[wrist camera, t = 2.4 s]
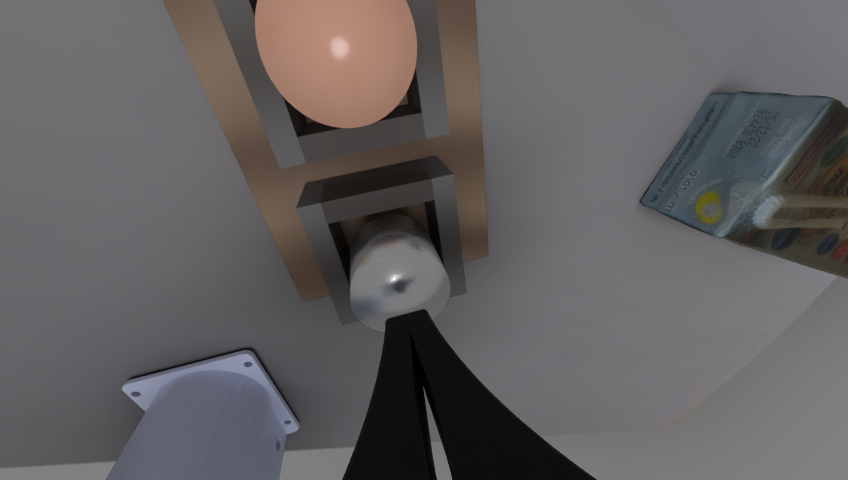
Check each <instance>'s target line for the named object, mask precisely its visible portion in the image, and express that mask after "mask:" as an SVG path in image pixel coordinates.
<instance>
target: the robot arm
mask: <svg viewBox="0 0 848 480" xmlns="http://www.w3.org/2000/svg"><path fill="white" fill-rule="evenodd" d="M423 386H424V389H425V392H426V395H427V399H428V402H429V405H430V408H431V411H432V414H433V417H434V420H435V423H436V426H437V429H438V432H439V435H440V438H441V441H442V444H443V447H444V450H445V454H446V457H447V461H448V464H449V467H450V471H451V476H452V480H596V479H595V478H594V477H592V476H591V475H589V474H588V473H587V472H585V471H584V470H583V469H581V468H580V467H578V466H577V465H576V464H574V463H573V462H572V461H570V460H569V459H568V458H566V457H565V456H564V455H562V454H561V453H560V452H559V451H557V450H556V449H555V448H553V447H552V446H551V445H550V444H549V443H547V442H546V441H545V440H544V439H543V438H541V437H540V436H539V435H538V434H537V433H535V432H534V431H533V430H532V429H531V428H529V427H528V426H527V425H526V424H525V423H523V422H522V421H521V420H520V419H519V418H518V417H516V416H515V415H514V414H513V413H512V412H511V411H510V410H509V409H508V408H507V407H505V406H504V405H503V404H502V403H501V402H500V401H499V400H498V399H497V398H496V397H495V396H494V395H493V394H492V393H491V392H490V391H489V390H488V389H487V388H486V387H485V386H484V385H483V384H482V383H481V382H480V381H479V380H478V379H477V378H476V376H475V375H474V374H473V373H472V372H471V371H470V370H469V369H468V368H467V366H466V365H465V364H464V363H463V362H462V361H461V359H460V358H459V357H458V356H457V354H456V353H455V352H454V351H453V349H452V348H451V347H450V346H449V344H448V343H447V342H446V340H445V339H444V338H443V336H442V335H441V333H440V332H439V330H438V329H437V327H436V326H435V324H434V323H433V321H432V319H431V317H430V315H429V313H428V311H427V310H425V309H422V310H418V311H414V312H410V313H406V314H402V315H399V316H395V317H391V318H388V319H387V320H386V321H385V337H384V345H383V351H382V356H381V361H380V366H379V370H378V375H377V379H376V383H375V387H374V390H373V394H372V398H371V401H370V405H369V408H368V411H367V415H366V418H365V421H364V424H363V427H362V430H361V433H360V435H359V438H358V441H357V444H356V446H355V449H354V452H353V454H352V457H351V459H350V462H349V464H348V467H347V469H346V472H345V474H344V477H343V479H342V480H437V477H436V473H435V467H434V461H433V456H432V448H431V441H430V433H429V426H428V419H427V411H426V404H425V397H424V390H423ZM122 390H123V391H124V392H125V393H126V394H127V395H128V396H129V397H130V398H131V399H132V400H133V401H134V402H135V403H136V404H138V405H139V406H140V407H141V408H142V409H143V410H144V411H145V414H144V415H143V417H142V419H141V421H140V422H139V424H138V426H137V427H136V429H135V431H134V432H133V434H132V436H131V438H130V439H129V441H128V443H127V444H126V446H125V448H124V449H123V451H122V453H121V454H120V456H119V458H118V460H117V461H116V463H115V465H114V466H113V468H112V470H111V472H110V473H109V475H108V477H107V478H106V480H279V477H280V471H281V465H282V459H283V453H284V448H285V442H286V436H287V434H290V433H293V432H296V431H297V430H298V429H299V422H298V421H297V419H296V418H295V416H294V415H293V413H292V411H291V410H290V408H289V407H288V405H287V404H286V402H285V401H284V399H283V398H282V396H281V394H280V393H279V391H278V390H277V388H276V387H275V385H274V384H273V382H272V381H271V379H270V377H269V376H268V374H267V373H266V371H265V370H264V368H263V367H262V365H261V363H260V362H259V360H258V359H257V357H256V356H255V354H254V353H253V352H252V351H250V350H243V351H239V352H235V353H231V354H227V355H223V356H220V357H216V358H212V359H208V360H204V361H200V362H197V363H193V364H189V365H185V366H181V367H177V368H173V369H170V370H166V371H162V372H158V373H154V374H150V375H147V376H143V377H139V378H135V379H131V380H128V381H126V382H125V384H124V385H123V387H122Z"/></svg>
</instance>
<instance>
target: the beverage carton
mask: <svg viewBox="0 0 848 480" xmlns="http://www.w3.org/2000/svg"><path fill="white" fill-rule="evenodd" d="M641 203H642V204H643V205H644V206H646V207H649V208H652V209H654V210H656V211H658V212H660V213H662V214H664V215H666V216H668V217H670V218H672V219H674V220H676V221H679V222H681V223H683V224H685V225H687V226H690V227H692V228H694V229H697V230H699V231H701V232H704V233H707V234H710V235H712V236H715V237H719V238H724V239H727V240H729V241H732V242H734V243H736V244H738V245H741V246H745V247H749V248H752V249H755V250H758V251H761V252H764V253H768V254H771V255H775V256H778V257H781V258H784V259H786V260H789V261H792V262H796V263H799V264H802V265H805V266H808V267H811V268H814V269H818V270H821V271H824V272H827V273H831V274H834V275H837V276H841V277H844V278H848V107H845V106H844V105H843V103H842V102H841V101H839V100H836V99H834V98H830V97H826V96H795V95H788V94H781V93H758V92H744V91H741V92H736V93H718V94H710V95H709V96H708V97H707V98H706V100H705V101H704V103H703V105H702V107H701V108H700V110H699V112H698V113H697V115H696V116H695V118H694V119H693V121H692V122H691V124H690V126H689V127H688V129H687V130H686V132H685V133H684V135H683V137H682V138H681V140H680V141H679V143H678V144H677V145H676V147H675V149H674V150H673V152H672V153H671V155H670V156H669V158H668V159H667V161H666V162H665V164H664V165H663V167H662V168H661V170H660V171H659V173H658V175H657V176H656V178H655V179H654V181H653V182H652V184H651V185H650V187H649V188H648V190H647V192H646V193H645V195H644V196H643V198H642V200H641Z"/></svg>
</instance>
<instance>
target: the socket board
mask: <svg viewBox="0 0 848 480" xmlns="http://www.w3.org/2000/svg"><path fill="white" fill-rule="evenodd" d="M406 1H407V4H408V6H409V8H410V11H411V14H412V17H413V21H414V25H415V30H416V37H417V60H416V67H415V71H414V75H413V79H412V81H411V84H410V86H409V88H408V90H407V92H406V94H405V96H404V97H403V99H402V100H401V101H400V103H399V104H398V105H397V106H396V107H395V108H394V109H393V111H391V112H390V113H389V114H388V115H386V116H385V117H384V118H382V119H380V120H379V121H377V122H374V123H372V124H370V125H366V126H362V127H356V128H338V127H332V126H328V125H325V124H322V123H319V122H317V121H315V120H313V119H311V118H309V117H307V116H305V115H304V114H302V113H301V112H300V111H298V110H297V109H296V108H294V107H293V106H292V105H291V104H290V103H289V102H288V101H287V100H286V99H285V98H284V97H283V96H282V94H281V93H280V92H279V91H278V89H277V88H276V87H275V85H274V84H273V82H272V81H271V79H270V77H269V75H268V73H267V72H266V69H265V67H264V65H263V62H262V60H261V56H260V53H259V50H258V46H257V40H256V33H255V11H256V5H257V0H163V2H164V4H165V6H166V9H167V11H168V13H169V15H170V17H171V19H172V21H173V24H174V26H175V28H176V30H177V32H178V34H179V37H180V39H181V41H182V43H183V45H184V47H185V49H186V52H187V54H188V56H189V58H190V60H191V62H192V64H193V67H194V69H195V71H196V73H197V75H198V77H199V80H200V82H201V84H202V86H203V88H204V90H205V92H206V95H207V97H208V99H209V101H210V103H211V105H212V107H213V110H214V112H215V114H216V116H217V118H218V120H219V122H220V125H221V127H222V129H223V131H224V133H225V135H226V138H227V140H228V142H229V144H230V146H231V148H232V150H233V153H234V155H235V157H236V159H237V161H238V163H239V165H240V168H241V170H242V172H243V174H244V176H245V178H246V181H247V183H248V185H249V187H250V189H251V191H252V193H253V196H254V198H255V200H256V202H257V204H258V206H259V208H260V211H261V213H262V215H263V217H264V219H265V221H266V224H267V226H268V228H269V230H270V232H271V234H272V236H273V239H274V241H275V243H276V245H277V247H278V249H279V251H280V254H281V256H282V258H283V260H284V262H285V264H286V267H287V269H288V271H289V273H290V275H291V277H292V279H293V282H294V284H295V286H296V288H297V290H298V292H299V294H300V297H301V299H302V301H303V302H304V301H308V300H312V299H316V298H320V297H324V296H328V295H331V298H332V300H333V303H334V305H335V308H336V310H337V313H338V315H339V318H340V320H341V323H342V325H345V324H348V323H352V322H356V321H359V319H358V318H357V317H356V316H355V314H354V312H353V310H352V307H351V303H350V246H351V242H352V240H353V237H354V236H355V234H356V232H357V231H358V230H359V229H360V228H361V227H362V226H363V225H364V224H365V223H366V222H368V221H370V220H371V219H373V218H376V217H378V216H382V215H387V214H400V215H405V216H408V217H411V218H413V219H415V220H416V221H418V222H419V223H420V224H421V225H423V227H424V228H425V229H426V231H427V232H428V234H429V236H430V238H431V241H432V243H433V245H434V247H435V249H436V251H437V253H438V256H439V258H440V260H441V262H442V264H443V266H444V268H445V270H446V273H447V275H448V277H449V281H450V296H449V297H452V296H456V295H460V294H464V293H466V286H465V277H464V267H463V262H464V261H468V260H472V259H476V258H480V257H484V256H488V237H487V218H486V198H485V179H484V160H483V141H482V121H481V102H480V83H479V64H478V44H477V25H476V6H475V0H406Z"/></svg>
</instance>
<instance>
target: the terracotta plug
mask: <svg viewBox="0 0 848 480" xmlns="http://www.w3.org/2000/svg"><path fill="white" fill-rule="evenodd" d="M255 33H256V40H257V46H258V50H259V53H260V56H261V60H262V62H263V65H264V67H265V69H266V72H267V73H268V75H269V77H270V79H271V81H272V82H273V84H274V85H275V87H276V88H277V89H278V91H279V92H280V93H281V94H282V96H283V97H284V98H285V99H286V100H287V101H288V102H289V103H290V104H291V105H292V106H293V107H294V108H296V109H297V110H298V111H300V112H301V113H302V114H304V115H305V116H307V117H309V118H311V119H313V120H315V121H317V122H319V123H322V124H325V125H328V126H332V127H338V128H356V127H362V126H366V125H370V124H372V123H374V122H377V121H379V120H380V119H382V118H384V117H385V116H386V115H388V114H389V113H390V112H391V111H393V109H394V108H395V107H396V106H397V105H398V104H399V103H400V101H401V100H402V99H403V97H404V96H405V94H406V92H407V90H408V88H409V86H410V84H411V81H412V79H413V75H414V71H415V67H416V60H417V37H416V30H415V25H414V21H413V17H412V14H411V11H410V8H409V6H408V4H407V1H406V0H257V5H256V11H255Z"/></svg>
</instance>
